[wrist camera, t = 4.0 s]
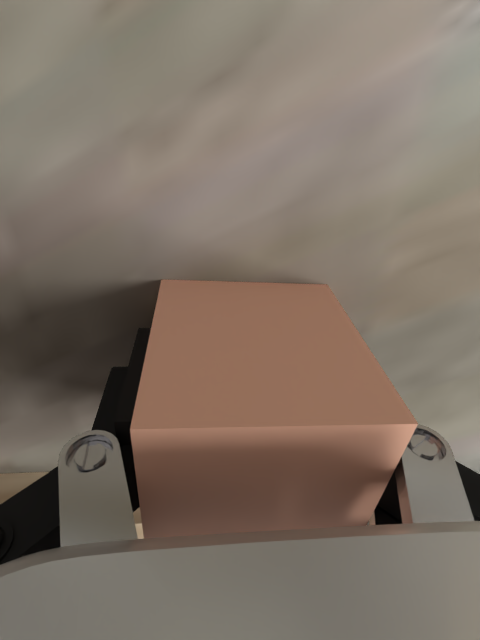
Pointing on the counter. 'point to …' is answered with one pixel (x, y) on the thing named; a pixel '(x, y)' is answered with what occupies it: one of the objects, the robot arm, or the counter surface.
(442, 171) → the counter surface
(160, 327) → the terracotta block
